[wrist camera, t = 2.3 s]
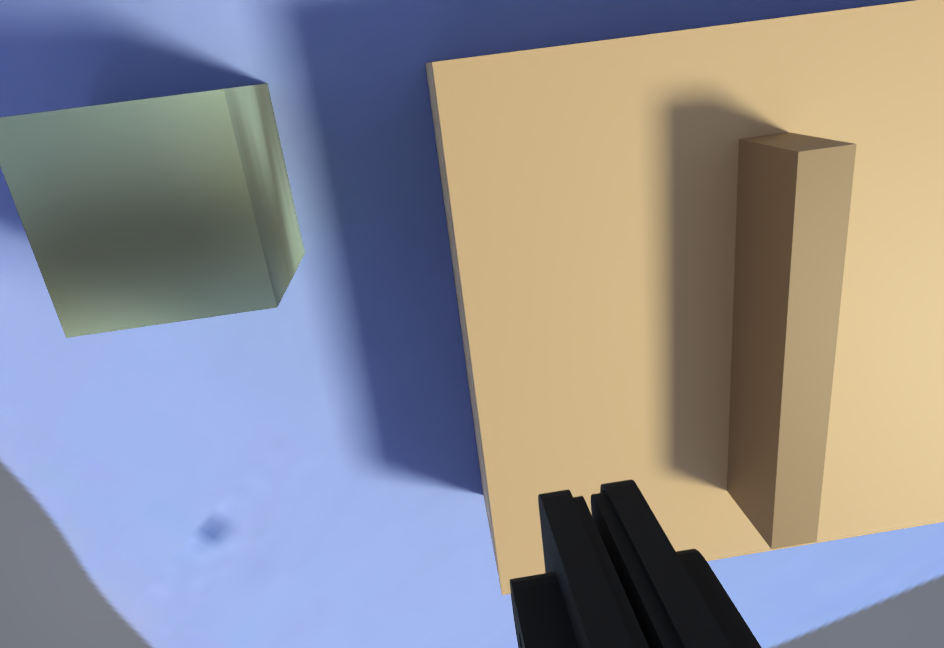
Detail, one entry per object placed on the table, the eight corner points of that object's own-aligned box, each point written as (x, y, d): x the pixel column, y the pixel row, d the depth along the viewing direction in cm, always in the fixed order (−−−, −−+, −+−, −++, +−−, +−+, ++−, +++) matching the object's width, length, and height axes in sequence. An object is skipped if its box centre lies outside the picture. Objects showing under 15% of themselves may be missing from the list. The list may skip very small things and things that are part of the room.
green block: (88, 106, 18) (-18, 119, 14) (267, 83, 19) (223, 88, 14) (143, 275, 20) (66, 337, 16) (305, 252, 20) (276, 307, 16)
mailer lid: (430, 62, 15) (437, 60, 12) (1066, -19, 15) (1219, -39, 12) (499, 580, 20) (514, 665, 17) (961, 504, 21) (1050, 573, 18)
